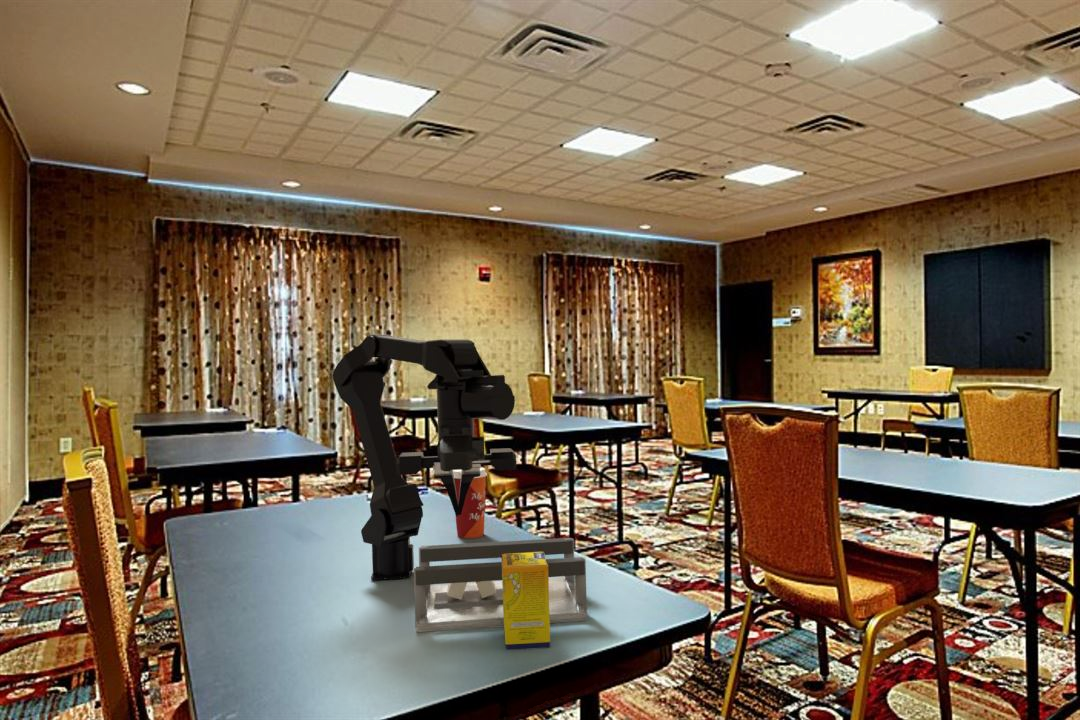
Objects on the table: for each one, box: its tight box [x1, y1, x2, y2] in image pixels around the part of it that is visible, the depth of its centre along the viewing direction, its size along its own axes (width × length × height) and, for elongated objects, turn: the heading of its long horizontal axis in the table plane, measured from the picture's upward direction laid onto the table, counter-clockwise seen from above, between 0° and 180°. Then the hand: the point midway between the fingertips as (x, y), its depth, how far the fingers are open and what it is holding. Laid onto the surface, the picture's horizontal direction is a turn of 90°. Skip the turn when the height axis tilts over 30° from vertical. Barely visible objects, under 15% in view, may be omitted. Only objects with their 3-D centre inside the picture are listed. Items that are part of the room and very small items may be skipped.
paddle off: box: [476, 581, 496, 598], centre depth 106 cm, size 2×3×3 cm, turn 6°
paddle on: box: [447, 582, 468, 600], centre depth 105 cm, size 2×3×3 cm, turn 6°
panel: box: [415, 576, 589, 633], centre depth 106 cm, size 24×16×2 cm, turn 96°
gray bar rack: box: [413, 537, 588, 627], centre depth 106 cm, size 25×13×8 cm, turn 96°
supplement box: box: [501, 552, 551, 652], centre depth 93 cm, size 6×6×11 cm
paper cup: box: [453, 466, 488, 540], centre depth 148 cm, size 8×8×14 cm
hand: (458, 515), depth 112 cm, fingers closed
